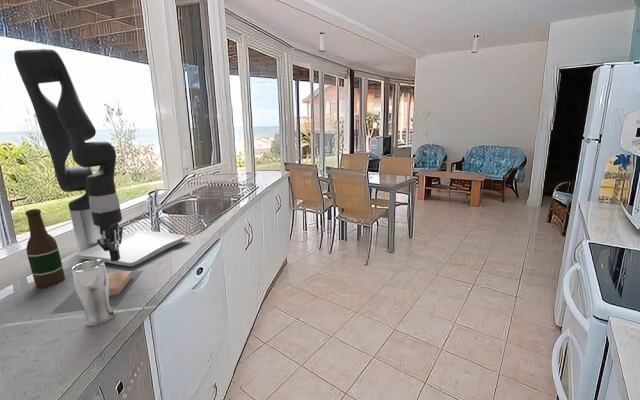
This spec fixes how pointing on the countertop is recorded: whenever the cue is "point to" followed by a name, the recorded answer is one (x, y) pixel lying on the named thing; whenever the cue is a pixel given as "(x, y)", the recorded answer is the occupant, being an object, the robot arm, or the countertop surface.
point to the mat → (75, 304)
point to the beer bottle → (43, 253)
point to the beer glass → (93, 291)
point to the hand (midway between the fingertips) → (115, 260)
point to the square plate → (135, 247)
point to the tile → (118, 281)
